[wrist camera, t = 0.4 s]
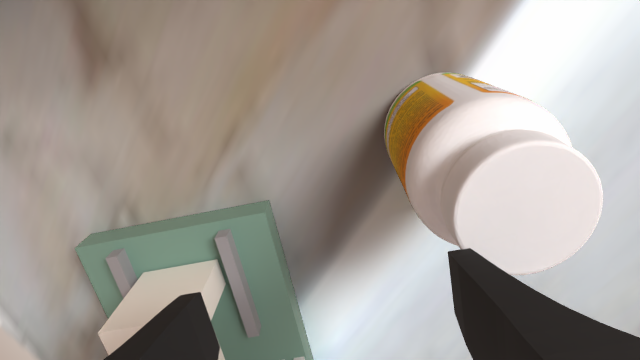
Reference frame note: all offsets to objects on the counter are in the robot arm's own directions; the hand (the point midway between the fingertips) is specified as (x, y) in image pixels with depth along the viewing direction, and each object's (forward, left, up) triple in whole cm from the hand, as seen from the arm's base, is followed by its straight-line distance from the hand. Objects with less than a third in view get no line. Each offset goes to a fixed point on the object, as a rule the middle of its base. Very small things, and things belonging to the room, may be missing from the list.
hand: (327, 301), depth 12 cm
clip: (-5, +8, -8) cm, 13 cm away
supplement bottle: (+2, -6, -10) cm, 12 cm away
